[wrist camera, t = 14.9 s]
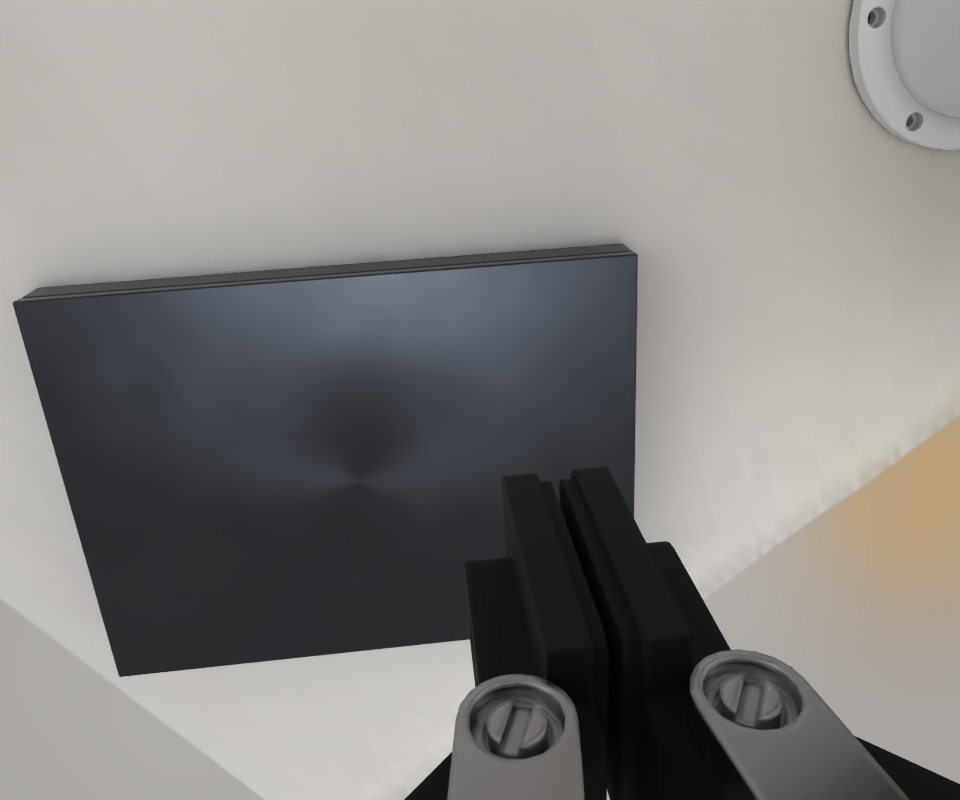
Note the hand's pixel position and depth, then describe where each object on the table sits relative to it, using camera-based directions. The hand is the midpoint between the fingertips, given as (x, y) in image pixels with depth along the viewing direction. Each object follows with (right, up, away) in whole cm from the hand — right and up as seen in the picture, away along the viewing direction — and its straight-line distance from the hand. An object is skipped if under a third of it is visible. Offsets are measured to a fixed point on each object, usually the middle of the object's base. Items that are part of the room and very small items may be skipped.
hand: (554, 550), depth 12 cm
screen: (-8, -2, +29) cm, 30 cm away
